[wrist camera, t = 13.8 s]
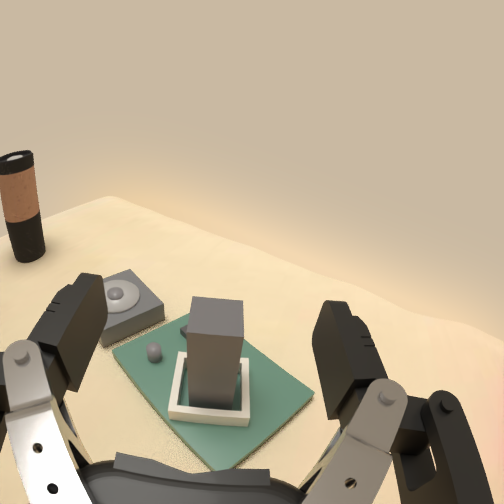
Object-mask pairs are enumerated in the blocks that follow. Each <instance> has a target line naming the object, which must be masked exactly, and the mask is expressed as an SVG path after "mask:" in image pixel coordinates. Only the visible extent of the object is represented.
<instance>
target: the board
mask: <svg viewBox="0 0 504 504" xmlns="http://www.w3.org/2000/svg"><path fill="white" fill-rule="evenodd" d="M189 314H190V313H188V314H186V315H184V316H182V317H180V318H178V319H176V320H174V321H172V322H170V323H168V324H166V325H164V326H162V327H160V328H158V329H155V330H153V331H151V332H149V333H147V334H145V335H143V336H141V337H139V338H137V339H134V340H132V341H130V342H128V343H126V344H124V345H122V346H120V347H118V348H115V349H113V350H112V353H113V356H114V358H115V359H116V360H117V362H118V363H119V365H120V366H121V367H122V369H123V370H124V371H125V373H126V374H127V376H128V377H129V378H130V380H131V381H132V382H133V383H134V385H135V386H136V387H137V389H138V390H139V391H140V392H141V394H142V395H143V396H144V397H145V399H146V400H147V401H148V402H149V404H150V405H151V406H152V407H153V408H154V410H155V411H156V412H157V413H158V414H159V416H160V417H161V418H162V419H163V420H164V421H165V422H166V424H167V425H168V426H169V427H170V428H171V429H172V430H173V431H174V433H175V434H176V435H177V436H178V437H179V438H180V439H181V440H182V441H183V442H184V443H185V444H186V445H187V446H188V448H189V449H190V450H191V451H192V452H193V453H194V454H195V455H196V456H197V457H198V458H199V459H200V460H201V461H202V462H203V463H204V464H205V465H206V466H207V467H208V468H209V469H211V470H212V471H218V470H225V469H231V468H234V467H235V466H236V465H237V464H239V463H240V462H241V461H242V460H244V459H245V458H246V457H247V456H249V455H250V454H251V453H252V452H253V451H255V450H256V449H257V448H258V447H259V446H261V445H262V444H263V443H264V442H265V441H266V440H267V439H269V438H270V437H271V436H272V435H273V434H274V433H275V432H277V431H278V430H279V429H280V428H281V427H282V426H283V425H284V424H285V423H286V422H287V421H289V420H290V419H291V418H292V417H293V416H294V415H295V414H296V413H297V412H298V411H299V410H300V409H301V408H302V407H303V406H304V405H305V404H306V403H307V402H308V401H309V400H310V399H311V398H312V397H313V395H314V393H315V392H314V391H312V390H311V389H309V388H308V387H307V386H305V385H304V384H302V383H301V382H300V381H298V380H297V379H296V378H294V377H293V376H292V375H290V374H289V373H287V372H286V371H285V370H283V369H282V368H281V367H279V366H278V365H277V364H275V363H274V362H273V361H272V360H270V359H269V358H268V357H266V356H265V355H264V354H262V353H261V352H260V351H258V350H257V349H256V348H255V347H253V346H252V345H251V344H250V343H248V342H247V341H246V340H243V346H242V352H241V358H240V363H239V369H238V375H237V381H236V387H235V393H234V399H233V405H232V410H218V409H207V408H197V407H189V398H188V375H187V336H186V332H187V326H188V320H189Z"/></svg>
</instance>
